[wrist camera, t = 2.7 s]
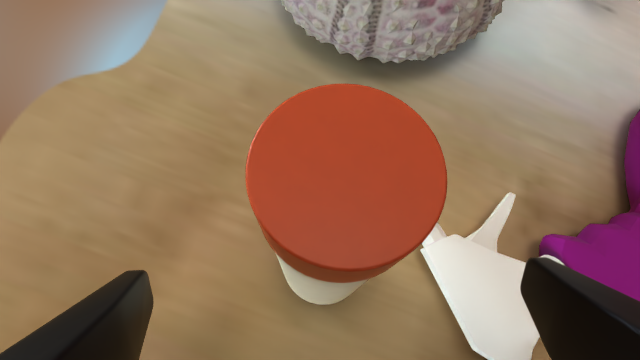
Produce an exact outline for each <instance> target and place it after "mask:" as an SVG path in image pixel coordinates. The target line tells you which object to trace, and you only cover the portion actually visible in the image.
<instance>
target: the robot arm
mask: <svg viewBox="0 0 640 360" xmlns="http://www.w3.org/2000/svg"><path fill="white" fill-rule="evenodd" d="M520 291H521V295H522V297H523V300H524V302H525V304H526V306H527V308H528V311H529V313H530V315H531V317H532V319H533V322H534V324H535V326H536V328H537V331H538V333H539V335H540V337H541V339H542V342H543V344H544V346H545V348H546V350H547V352H548V354H549V356H550V358H551V359H552V360H640V301H638V300H636V299H634V298H632V297H630V296H628V295H625V294H623V293H621V292H619V291H617V290H615V289H613V288H611V287H609V286H606V285H604V284H602V283H600V282H598V281H596V280H594V279H592V278H590V277H588V276H585V275H583V274H581V273H579V272H577V271H575V270H573V269H571V268H569V267H567V266H564V265H562V264H560V263H558V262H556V261H554V260H552V259H550V258H547V257H535V258H530V259H528V260H527V262H526V265H525V269H524V273H523V277H522V280H521V285H520ZM152 309H153V295H152V291H151V286H150V282H149V278H148V274H147V272H146V271H144V270H132V271H126V272H124V273H123V274H121V275H120V276H118V277H116V278H115V279H113V280H112V281H110V282H109V283H107V284H106V285H104V286H103V287H101V288H100V289H98V290H97V291H95V292H94V293H92V294H91V295H89V296H88V297H86V298H84V299H83V300H81V301H80V302H78V303H77V304H75V305H74V306H72V307H71V308H69V309H68V310H66V311H65V312H63V313H62V314H60V315H59V316H57V317H55V318H54V319H52V320H51V321H49V322H48V323H46V324H45V325H43V326H42V327H40V328H39V329H37V330H36V331H34V332H33V333H31V334H30V335H28V336H26V337H25V338H23V339H22V340H20V341H19V342H17V343H16V344H14V345H13V346H11V347H10V348H8V349H7V350H5V351H4V352H2V353H1V354H0V360H139V357H140V353H141V350H142V346H143V342H144V339H145V335H146V331H147V328H148V324H149V320H150V317H151V313H152Z"/></svg>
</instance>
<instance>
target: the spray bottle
mask: <svg viewBox="0 0 640 360" xmlns="http://www.w3.org/2000/svg"><path fill="white" fill-rule="evenodd" d="M624 165H625V176H626V187H627V193H628V198H629V202H630V207H631V209H630V210H629V212H628V213H622V214H619V215H617V216H614V217H612V218H611V220H610V221H609V223H608V224H589V225H588V226H586V227H585V228H584V229H583V230H582V231H581V232H580V233H579V234H578V236H577V237H572V236H564V235H557V234H550V235H546V236H544V237H543V239H542V241H541V243H540V245H539V257H547V258H550V259H552V260H554V261H556V262H558V263H560V264H562V265H564V266H567V267H569V268H571V269H573V270H575V271H577V272H579V273H581V274H583V275H585V276H588V277H590V278H592V279H594V280H596V281H598V282H600V283H602V284H604V285H606V286H609V287H611V288H613V289H615V290H617V291H619V292H621V293H623V294H625V295H628V296H630V297H632V298H634V299H636V300H638V301H640V110H639V111H638V113H637V114H636V116H635V117H634V118H633V120H632V121H631V122H630V127H629V133H628V139H627V145H626V151H625V158H624ZM515 196H516V195H515V194H513V193H511V192H509V193H508V194H506V196H505V197H504V198H503V200H502V201H501V202H500V203H499V205H498V206H497V207H496V209H495V210H494V211H493V212H492V214H491V215H490V216H489V218H488V219H487V220H486V221H485V223H484V224H483V225H482V227H481V228H480V229H478V230H477V231H475V232H474V233H472V234H471V235H469V236H468V237H466V238H463V237H461V236H459V235H457V234H454V235H451V236H448V237H447V236H446V234H445V233H444V231H443V230H442V228H441V227H440V225H439V224H438V222H437V223H436V225H435V227H434V228H433V230H432V231H431V233H430V234H429V235H428V236H427V238H426V239H425V240H424V241H423V242H422V245H423V247H424V248H422V249H421V252H422V254H423V256H424V258H425V260H426V262H427V264H428V266H429V268H430V270H431V271H432V273H433V275H434V277H435V279H436V281H437V283H438V285H439V287H440V289H441V291H442V293H443V294H444V296H445V298H446V300H447V302H448V304H449V306H450V308H451V310H452V312H453V314H454V316H455V317H456V319H457V321H458V323H459V325H460V327H461V329H462V331H463V333H464V335H465V337H466V339H467V340H468V342H469V344H470V346H471V348H472V350H474V351H475V352H477V353H479V354H480V355H482V356H483V357H485V358H486V359H488V360H531V357H532V350H533V348H534V346H535V344H536V343H537V341H538V339H539V337H540V335H539V333H538V331H537V328H536V326H535V324H534V322H533V319H532V317H531V315H530V313H529V311H528V308H527V306H526V304H525V302H524V300H523V297H522V295H521V291H520V285H521V280H522V277H523V273H524V269H525V265H526V263H525V262H522V261H519V260H517V259H514V258H511V257H508V256H505V255H503V254H500V253H497V239H498V236H499V234H500V232H501V230H502V228H503V226H504V224H505V222H506V220H507V217H508V215H509V213H510V211H511V208H512V205H513V202H514V199H515Z"/></svg>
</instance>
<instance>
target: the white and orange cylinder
mask: <svg viewBox="0 0 640 360" xmlns="http://www.w3.org/2000/svg"><path fill="white" fill-rule="evenodd" d="M246 187H247V194H248V197H249V201H250V204H251V207H252V209H253V211H254V214H255V216H256V218H257V220H258V223H259V225H260V227H261V229H262V232H263V234H264V236H265V238H266V240H267V241H268V243H269V245H270V246H271V248H272V249H273V250H274V251H275V253H276V255H277V258H278V260H279V263H280V265H281V268H282V270H283V273H284V275H285V278H286V280H287V282H288V284H289V286H290V287H291V289H292V290H293V291H294V292H295V293H296V294H297V295H298V296H299V297H301V298H302V299H304V300H306V301H308V302H311V303H314V304H320V305H328V304H334V303H337V302H340V301H341V300H343V299H345V298H347V297H348V296H349V295H351V294H352V293H353V292H354V291H355V290H357V289H358V288H359V287H360V286H362V285H363V284H364V283H365V282H366V281H368V280H369V279H370V278H372V277H375V276H377V275H379V274H381V273H383V272H385V271H386V270H388V269H389V268H391V267H392V266H393V265H395V264H396V263H398V262H399V261H400V260H402V259H403V258H404V257H406V256H407V255H408V254H410V253H411V252H412V251H414V250H415V249H416V248H417V247H418V246H419V245H420V244H421V243H422V242H423V241H424V240H425V239H426V238H427V236H428V235H429V234H430V233H431V231H432V230H433V228H434V227H435V225H436V223H437V221H438V220H439V217H440V215H441V212H442V210H443V207H444V203H445V199H446V192H447V170H446V165H445V160H444V156H443V153H442V150H441V147H440V145H439V143H438V141H437V139H436V137H435V135H434V133H433V132H432V130H431V129H430V127H429V126H428V125H427V123H426V122H425V121H424V120H423V119H422V118H421V116H420V115H418V114H417V113H416V112H415V111H414V110H413V109H412V108H411V107H409V106H408V105H407V104H405V103H404V102H403V101H401V100H399V99H397V98H396V97H394V96H392V95H390V94H388V93H385V92H383V91H381V90H378V89H374V88H371V87H367V86H362V85H356V84H330V85H323V86H319V87H315V88H311V89H308V90H306V91H303V92H301V93H298V94H297V95H295V96H293V97H291V98H289V99H288V100H286V101H285V102H283V103H282V104H281V105H279V106H278V107H277V108H276V109H275V110H274V111H273V112H272V113H271V114H270V115H269V116H268V117H267V118H266V119H265V121H264V122H263V123H262V125H261V126H260V128H259V129H258V131H257V132H256V134H255V136H254V139H253V141H252V143H251V146H250V149H249V152H248V156H247V162H246Z"/></svg>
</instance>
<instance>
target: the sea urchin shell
mask: <svg viewBox="0 0 640 360" xmlns="http://www.w3.org/2000/svg"><path fill="white" fill-rule="evenodd" d="M503 1H504V0H282V5H283V6H285V10H286V11H288V12H290V13H292V16H293V20H294V23H296V24H298V25H301V26H302V28H304V29H305V32H306V34H307V36H315V38H316V40H319V41H320V43H331V44H333V45H335V47H336V49H337V50H338V52H339V54H344V53H350V54H352V55H353V56H354V57H355V58H356V59H357V60H361V59H363V58H366V57H368V56H369V57H374V58H378V59H379V60H380V61H381V62H382V63H386V62H388V61H390V60H391V61H393V62H396V63H400V62H402V61H404V60H407V59H408V60H411V61H412V60H419V59H421V60H423V61H425V60H426V59H427V58H428V57H430V56H432V57H433V58H434V57H435V56H437V55H438V54H439V53H440V54H445V53H446V52H448V51H449V50H451V51H454V50H455V48H456V46H457V45H458V44H459V43H462V42H466V40H467V39H475V37H476V35H477V33H478V32H484V31H487V27H488V24H491V23H492V20H493V19H495V16H496V15H498V14H500V13H501V12H502V2H503Z"/></svg>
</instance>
